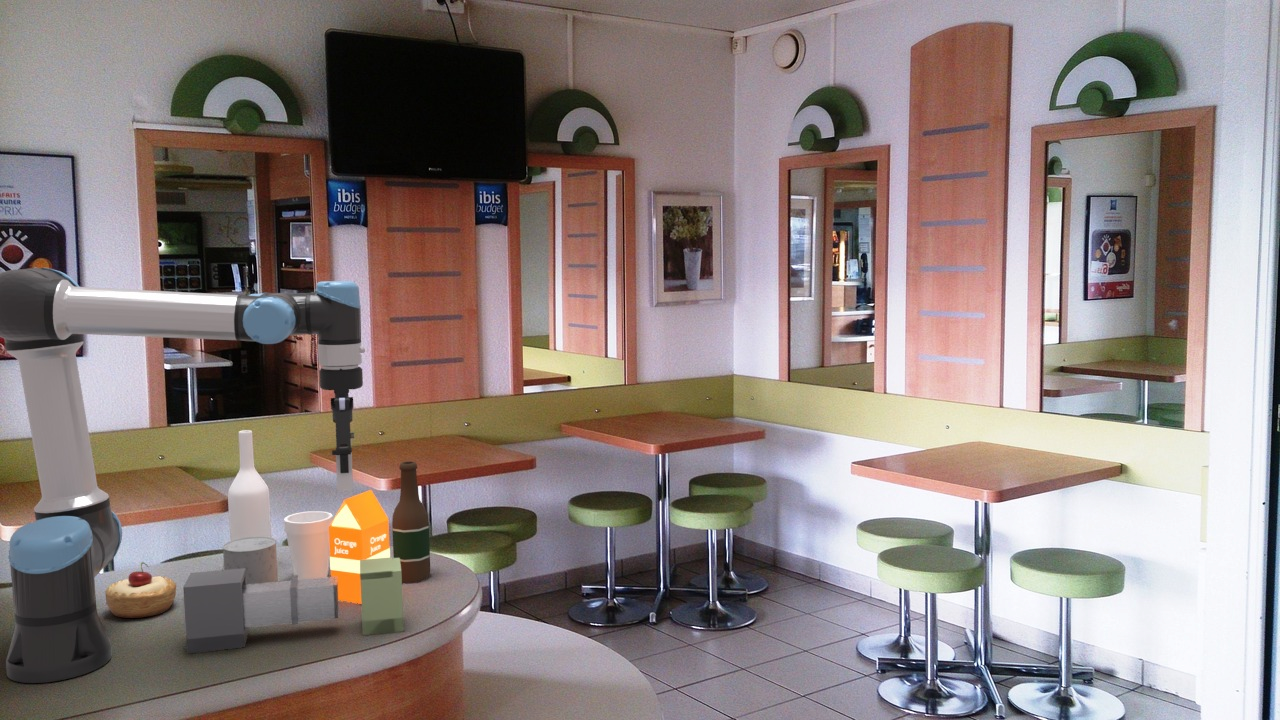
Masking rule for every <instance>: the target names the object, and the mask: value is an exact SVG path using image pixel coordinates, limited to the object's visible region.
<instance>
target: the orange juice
mask: <svg viewBox="0 0 1280 720" xmlns="http://www.w3.org/2000/svg"><path fill="white" fill-rule="evenodd" d="M388 517H389V516H387V514H386V512H385V510H384V509H383V508H382V505H381V504H380V502H379V501H378V499H377V497H376V495H375V494H374V493H373V490H372V489H369V490H367V491H365V492H362V493H358V494H356V495H353V496H351V497H348V498H345V499H343V502H342V503H341V505H340V507H339V509H338V511H337V512H336V514H335V516H334V517H333V521H332V523H331V524H330V526H329V543H330V557H329V565H330V566H329V569H330V577H336V576H337V579H338V600H341V601H340V602H343V601H347V602H346V603H350V602H352V604H357V603H358V604H359V605H361V583H360V560H365V559H377V558H389V557H391V547H390V528H389V527H390V525H389V518H388Z"/></svg>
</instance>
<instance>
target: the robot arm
mask: <svg viewBox="0 0 1280 720" xmlns="http://www.w3.org/2000/svg"><path fill="white" fill-rule="evenodd" d="M361 309H362V308H361V299H360V289H359V285H358V284H357V283H356V282H355V281H351V280H331V281H328V280H324V281H323V280H322V281H319V282H317V283H316V285H315V290H314V291H311V292H306V293H305V292H262V293H261V292H260V293H251V294H248V295H247V294H245V295H243V294H242V295H240V294H223V293H222V294H221V293H206V292H205V293H203V292H188V291H187V292H182V291H170V290H169V291H166V290H147V289H146V290H145V289H126V288H110V287H93V286H92V287H88V286H80V285H79V284H78V283H77V281H75V280H74V278H72V277H70V276H69V275H68V274H66V273H64V272H62V271H60V270H56V269H54V268H49V267H31V268H22V269H10V270H6V271H2V272H0V338H1V339H3V340H4V344H5V345H4V346H5V351H6V353H7V354H9V355H10V356H12V357H13V358H14V359H16V360H17V362H18V365H19V370H20V371H19V372H20V376H21V382H22V388H23V392H24V393H23V395H24V399H25V404H26V405H25V406H26V411H27V416H28V417H27V418H28V421H29V422H28V423H29V428H30V434H31V440H32V446H33V451H34V458H35V463H36V469H37V474H38V480H39V487H40V493H41V498H40V500H39V502H38V503H37V504H36V505H35V506H34V507H33V512H34V518H35V521H34V522H29V523H26V524H24V525H22V526H21V527H19V528H18V529H16V530H15V531H14V532H13V533H12V534H11V536H10V538H9V549H8V560H9V561H8V562H9V565H10V575H11V586H12V600H13V609H14V610H13V611H14V622H15V628H14V631H13V633H12V638H11V642H10V645H9V648H8V653H7V656H6V659H5V669H6V676H7V678H8V679H10V680H12V681H13V682H19V683H25V684H40V683H51V682H58V681H63V680H68V679H72V678H76V677H80V676H83V675H86V674H88V673H90V672H93V671H95V670H97V669H99V668H101V667H103V666H104V665H106V664H107V663H108V662H110V660H111V659H112V656H113V653H112V643H111V640H110V638H109V635H108V633H107V630H105V626H104V625H103V622H102V621H101V619H100V616H99V614H98V611H97V610H98V609H97V596H96V595H97V594H96V582H95V577H96V576H97V575H98V574H99V573H100V572H101V571H102V570H103V569H105V568H106V567H107V566H108V565H109V564H110V563H111V562H112V561H113V559H114V558H115V557H116V555H117V554H118V551H119V549H120V546H121V543H122V539H123V527H122V523H121V521H120V519H119V517H118V516H117V514H116V513H115V512H114V511H113V510H112V507H111V500H110V496H109V493H107V492H106V491H104V490H102V489H101V488H100V487H98V481H97V475H96V471H95V470H96V468H95V463H94V457H93V451H92V445H91V440H90V434H89V433H90V432H89V428H88V427H89V426H88V420H87V414H86V408H85V403H84V397H83V390H82V384H81V379H80V372H79V367H78V366H79V365H78V361H77V356H76V355H77V352H78V351H79V349H80V348H81V347H82V346H83V344H84V337H83V336H84V335H96V336H100V335H101V336H120V337H121V336H122V337H123V336H126V337H146V338H147V337H149V338H172V339H197V340H198V339H199V340H219V341H220V340H222V341H223V340H224V341H225V340H227V341H242V342H243V341H244V342H256V343H259V344H262V345H275V344H278V343H282V342H283V341H285V340H286V339H287V338H288V337H289V336H300V335H301V336H302V335H309V336H311V335H317V354H318V365H319V366H320V367H321V368H320V369H319V370H318V373H319V376H318V377H319V387H320V388H321V389H322V390H324V391H333V393H334V397H331V398H330V410H331V411H332V422H333V423H334V424H335V445H336V446H335V449H333V450H331V455H332V456H335V465H336V470H335V471H336V489H337V490H336V492H346V491H354V480H353V479H354V478H353V477H354V476H353V454H352V451H353V448H352V439H355V432H351V423H352V422H353V419H354V418H353V409H354V397H353V396H349V393H350V390H357V389H360V388H362V387H363V386H364V380H363V379H364V375H363V368H362V367H361V366H359V365H361V364H362V360H363V357H362V353H363V354H364V353H366V348H365V347H362V316H361V315H362V314H361V312H362V311H361Z"/></svg>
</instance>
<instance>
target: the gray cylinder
mask: <svg viewBox="0 0 1280 720" xmlns="http://www.w3.org/2000/svg"><path fill="white" fill-rule="evenodd" d="M221 547H222V553H223V554H222V555H223V570H230V569H242V568H246V584H258V583H269V582H279V578H278V577H279V576H278V559H277V557H278V556H277V540H276V539H275V538H273V537H272V538H270V537H247V538H241V539H236V540H233V541H230V540H229V541H227V542H226V543H223V545H222V546H221Z"/></svg>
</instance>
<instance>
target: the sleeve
mask: <svg viewBox="0 0 1280 720" xmlns="http://www.w3.org/2000/svg"><path fill="white" fill-rule="evenodd" d="M242 585H246V568H242V569H230V570H224V569H219V570H209V571H197V572H196V571H195V572H190V573H189V575H188V577H187V579H186V581H185V582H184V585H183V588H182V589H183V590H182V591H183V597H184V607H185V623H186V634H185V637H186V651H187V653H186V654H188V655H189V654H197V653H198V654H199V653H208V651H209V652H215V651H214V650H218V651H225V650H224V649H228V650H233V649H232V648H238V649H243V648H242V647H244V646H246V644H247V643H246V642H247V640H246V639H248V637H247V635H248V636H249V633H248V632H250V627H246V628H244V620H243V602H242ZM245 643H246V644H245ZM244 648H245V647H244ZM206 651H207V652H206Z"/></svg>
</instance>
